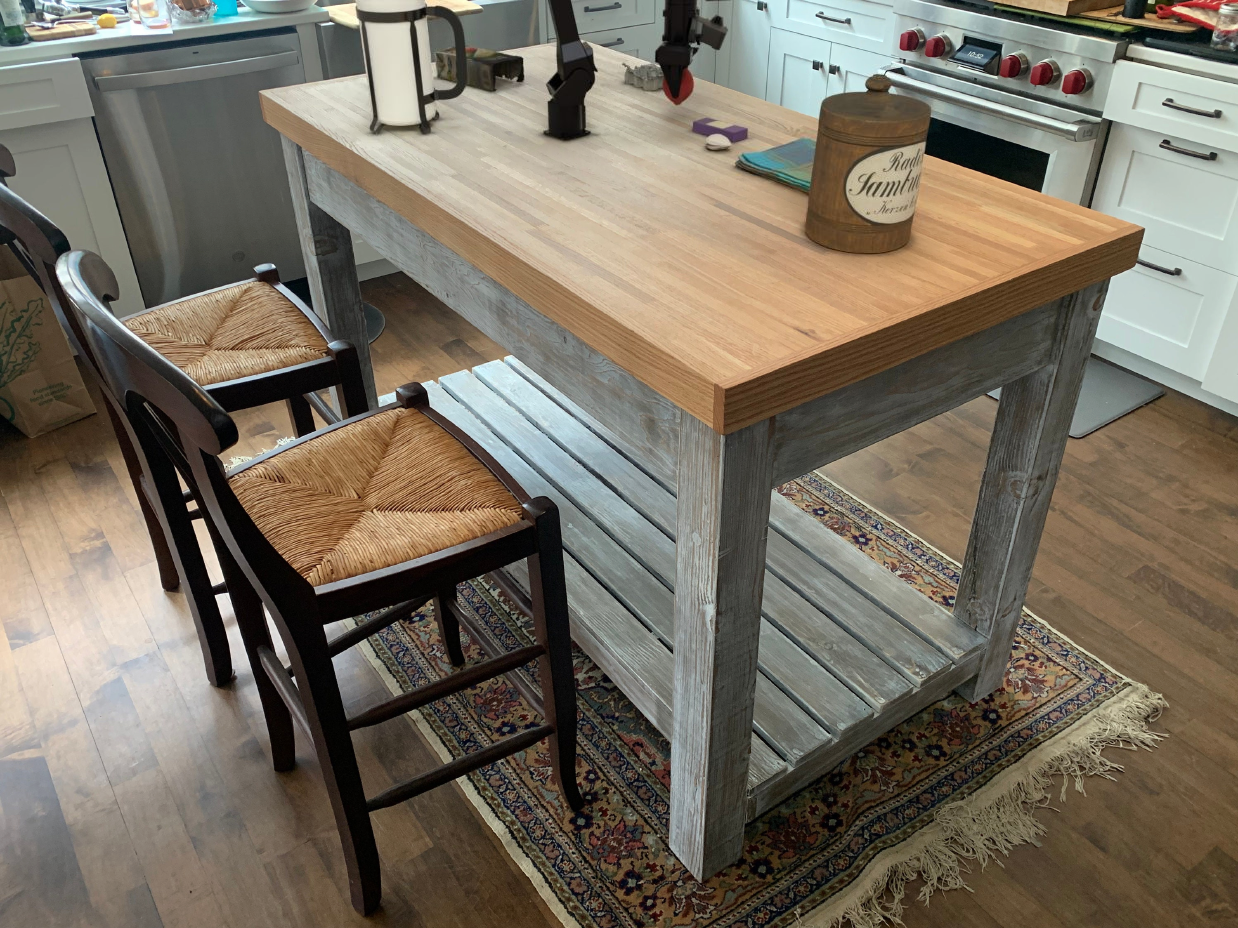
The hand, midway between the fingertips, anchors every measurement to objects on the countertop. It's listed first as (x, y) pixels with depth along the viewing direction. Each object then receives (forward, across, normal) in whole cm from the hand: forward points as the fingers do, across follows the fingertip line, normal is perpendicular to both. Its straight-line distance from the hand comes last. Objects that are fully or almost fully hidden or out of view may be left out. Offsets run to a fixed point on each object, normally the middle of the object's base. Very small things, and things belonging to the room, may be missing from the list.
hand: (677, 94), depth 183 cm
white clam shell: (+6, -13, -9) cm, 17 cm away
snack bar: (+6, -4, -8) cm, 11 cm away
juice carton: (+6, +27, +47) cm, 55 cm away
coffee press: (+6, -8, +50) cm, 51 cm away
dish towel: (+6, -24, -27) cm, 37 cm away
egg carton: (+6, +30, +10) cm, 33 cm away
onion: (+2, 0, 0) cm, 2 cm away
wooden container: (+6, -49, -33) cm, 59 cm away
